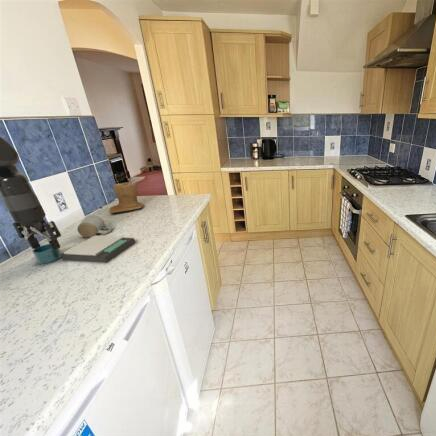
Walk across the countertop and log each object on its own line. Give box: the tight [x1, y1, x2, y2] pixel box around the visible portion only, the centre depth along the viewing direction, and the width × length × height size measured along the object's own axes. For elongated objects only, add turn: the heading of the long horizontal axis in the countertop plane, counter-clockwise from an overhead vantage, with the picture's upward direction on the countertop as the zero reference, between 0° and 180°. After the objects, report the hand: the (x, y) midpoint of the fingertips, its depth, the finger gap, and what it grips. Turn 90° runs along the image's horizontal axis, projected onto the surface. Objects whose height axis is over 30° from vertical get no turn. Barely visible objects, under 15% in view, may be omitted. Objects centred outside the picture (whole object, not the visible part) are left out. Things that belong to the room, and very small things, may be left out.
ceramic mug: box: [77, 214, 112, 238], centre depth 106 cm, size 11×8×8 cm
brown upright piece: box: [108, 182, 144, 214], centre depth 131 cm, size 15×12×15 cm
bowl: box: [32, 243, 62, 265], centre depth 87 cm, size 6×6×5 cm
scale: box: [60, 235, 136, 263], centre depth 92 cm, size 18×14×3 cm
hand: (46, 248), depth 86 cm, fingers open, 8 cm apart
